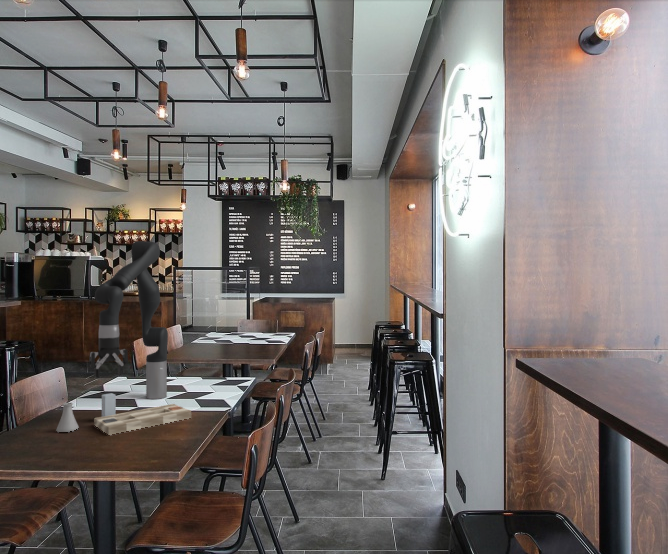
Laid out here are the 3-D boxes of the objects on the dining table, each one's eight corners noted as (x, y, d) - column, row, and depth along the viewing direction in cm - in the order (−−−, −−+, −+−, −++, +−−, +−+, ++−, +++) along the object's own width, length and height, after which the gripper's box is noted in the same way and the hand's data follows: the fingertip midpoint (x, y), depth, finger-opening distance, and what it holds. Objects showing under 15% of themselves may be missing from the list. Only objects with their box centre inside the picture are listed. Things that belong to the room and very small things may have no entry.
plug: (101, 419, 198) (101, 394, 198) (112, 417, 200) (112, 393, 201) (105, 421, 195) (105, 396, 195) (115, 419, 198) (115, 394, 198)
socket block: (94, 426, 189) (94, 417, 189) (173, 410, 211) (173, 403, 211) (108, 435, 178) (108, 426, 178) (191, 418, 199) (191, 410, 199)
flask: (83, 428, 186) (83, 402, 186) (66, 434, 179) (67, 406, 179) (68, 426, 188) (68, 400, 188) (51, 432, 182) (51, 405, 182)
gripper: (123, 334, 205) (123, 373, 205) (86, 336, 196) (86, 377, 196) (130, 335, 200) (130, 375, 200) (93, 338, 190) (93, 380, 190)
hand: (108, 376), depth 198 cm, fingers open, 8 cm apart
